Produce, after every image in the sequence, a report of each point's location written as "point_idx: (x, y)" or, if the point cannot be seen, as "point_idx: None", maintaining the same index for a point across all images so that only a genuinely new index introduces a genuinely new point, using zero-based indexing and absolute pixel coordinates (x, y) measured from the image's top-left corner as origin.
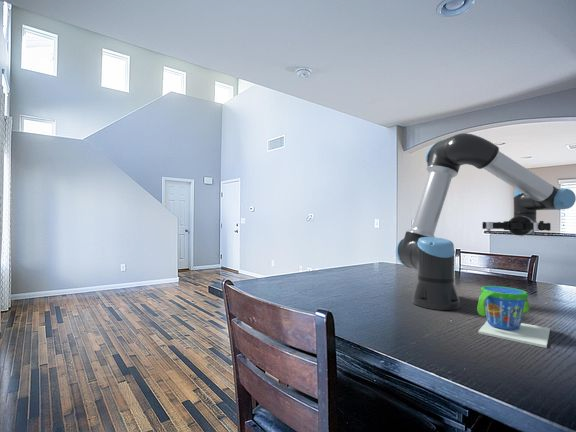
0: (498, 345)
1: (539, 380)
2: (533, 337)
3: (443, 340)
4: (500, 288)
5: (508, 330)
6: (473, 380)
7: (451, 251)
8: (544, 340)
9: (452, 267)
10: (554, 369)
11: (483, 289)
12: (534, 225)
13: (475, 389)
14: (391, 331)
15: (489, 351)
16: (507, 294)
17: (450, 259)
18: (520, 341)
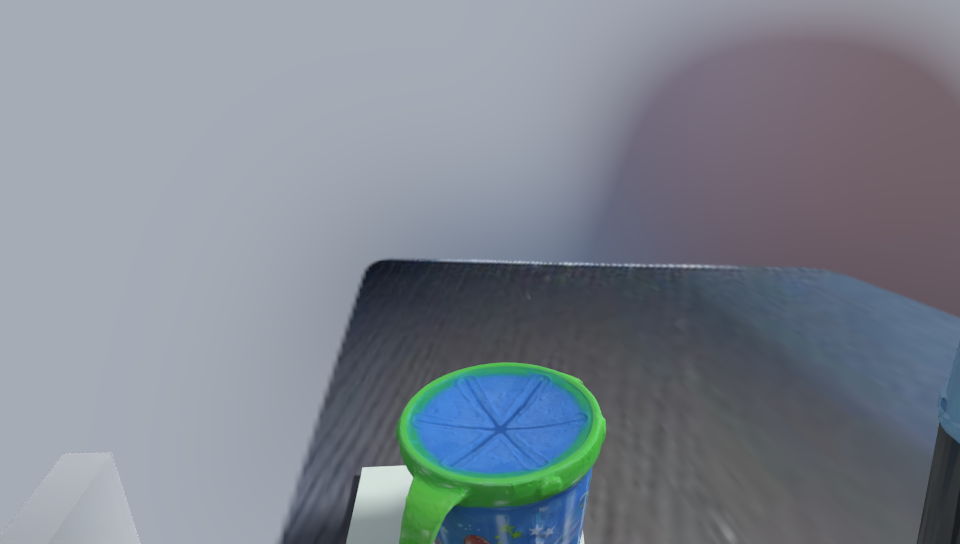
0: None
1: (396, 326)
2: (396, 509)
3: (632, 368)
4: (524, 462)
5: None
6: (501, 278)
7: (956, 384)
8: (363, 504)
9: (932, 517)
10: (362, 375)
11: (578, 382)
12: (112, 501)
13: (491, 263)
14: (781, 342)
15: None
16: (472, 369)
17: (942, 438)
18: None
